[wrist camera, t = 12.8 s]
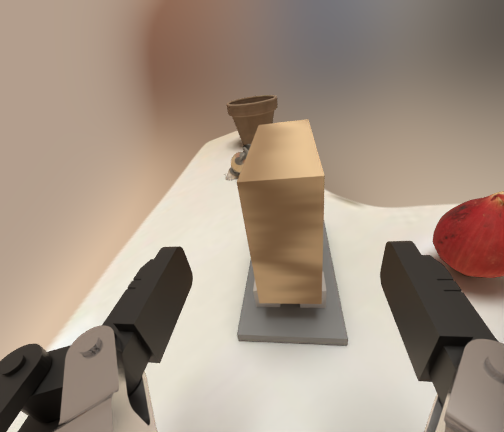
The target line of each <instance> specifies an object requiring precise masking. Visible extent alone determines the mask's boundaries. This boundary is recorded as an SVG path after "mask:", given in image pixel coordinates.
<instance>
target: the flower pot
mask: <svg viewBox="0 0 504 432" xmlns="http://www.w3.org/2000/svg"><path fill="white" fill-rule="evenodd" d="M276 108H277V96H274V95H262V96H253V97H247V98H242V99H237V100H233V101H230V102H228V103H227V109H228V114H229V115H230V116H232V117H233V119H234V122H235V125H236V127H237V130H238V133H239V135H240V138H241V140H242V142H243V145H246V144H252V141H253V138H254V136H255V133H256V131H257V128H258V125H263V124H272V123H273V115H274V110H275V109H276Z"/></svg>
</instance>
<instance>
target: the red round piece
mask: <svg viewBox="0 0 504 432" xmlns="http://www.w3.org/2000/svg"><path fill="white" fill-rule="evenodd" d="M433 244H434V246H435V249H436V251H437V253H438V254H439V256H440V258H441V259H442V260H443V261H444V262H445V263H447V264H448V265H449V266H450V267H452V268H453V269H455V270H457V271H459V272H460V273H462V274H463V275H466V276H474V277H485V278H495V277H500V276H504V191H502V192H498V193H495V194H492V195H490V196H488V197H484V198H479V199H474V200H470V201H467V202H464V203H462V204H460V205H458V206H456V207H455V208H453V209H451V210H450V211H448V212H447V213H446V214H444V215H443V216H442V217H441V219H440V220H439V222H438V224H437V226H436V228H435V231H434V235H433Z"/></svg>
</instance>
